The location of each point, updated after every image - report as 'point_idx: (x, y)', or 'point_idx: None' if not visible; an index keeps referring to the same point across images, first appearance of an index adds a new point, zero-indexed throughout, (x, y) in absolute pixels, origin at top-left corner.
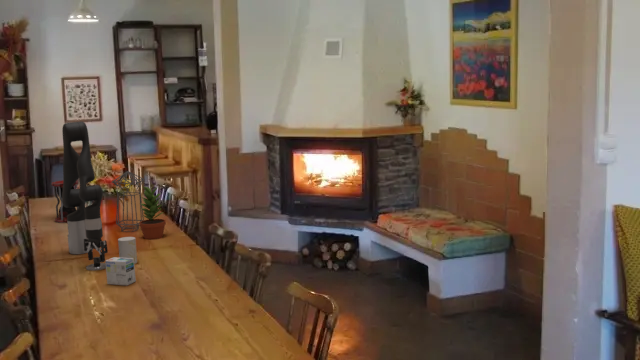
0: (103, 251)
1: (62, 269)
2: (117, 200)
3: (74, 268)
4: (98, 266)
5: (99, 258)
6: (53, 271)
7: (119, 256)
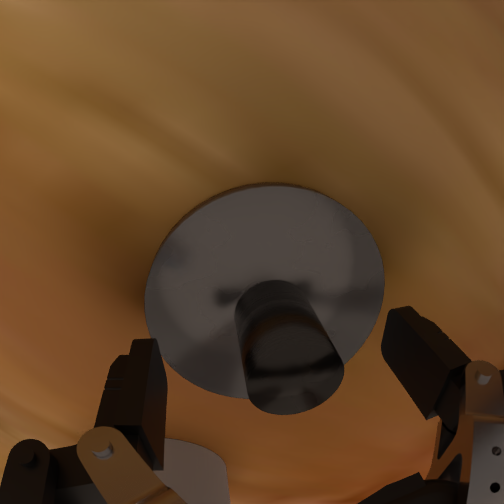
0: (5, 475)
1: (498, 89)
2: None
3: (451, 154)
4: (229, 305)
5: (249, 393)
6: (499, 23)
7: (186, 493)
